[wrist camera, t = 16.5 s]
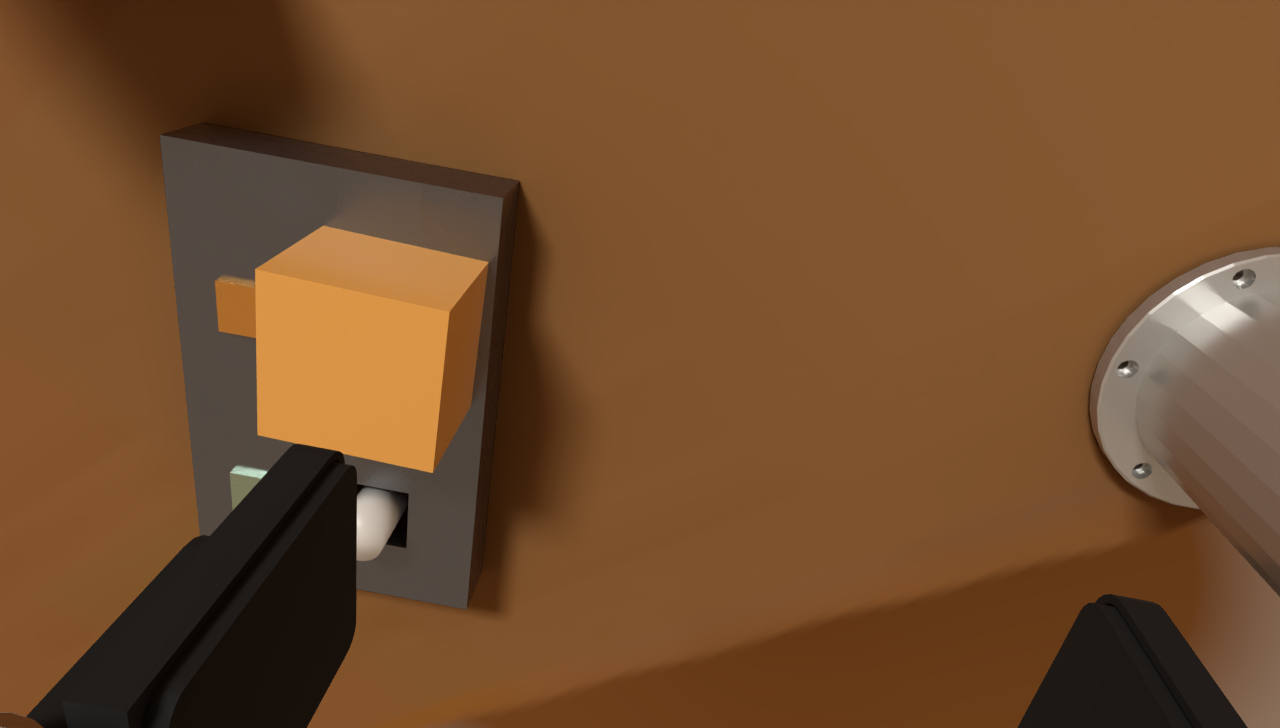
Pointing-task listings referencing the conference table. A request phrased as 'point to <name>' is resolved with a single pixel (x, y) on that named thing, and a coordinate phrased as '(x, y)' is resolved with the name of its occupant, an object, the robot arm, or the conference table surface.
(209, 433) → the panel
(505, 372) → the conference table surface
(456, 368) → the cap
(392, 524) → the plain button
